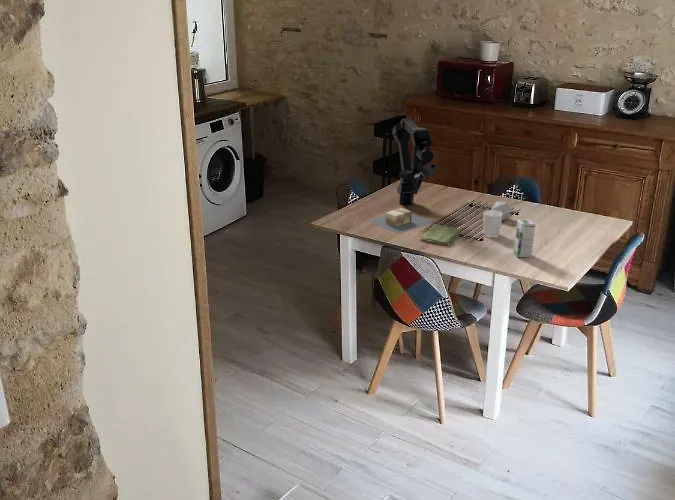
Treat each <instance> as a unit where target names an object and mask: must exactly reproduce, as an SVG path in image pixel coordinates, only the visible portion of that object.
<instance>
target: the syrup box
mask: <svg viewBox="0 0 675 500" xmlns="http://www.w3.org/2000/svg"><path fill="white" fill-rule="evenodd" d="M535 231H536V223H534V221H532V219H526V218H522V219H517V223H516V231H515V237H514V243H513V244H514V245H513V254H514V253H515V254H514V255H515V257H516V258H517V257H530V258H532V252H533V247H534V246H533V244H534V237H535Z"/></svg>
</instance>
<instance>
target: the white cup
mask: <svg viewBox="0 0 675 500" xmlns="http://www.w3.org/2000/svg"><path fill="white" fill-rule="evenodd" d="M502 215H503V213H502V212H500V211H496V210H491V209H488V210H485V211H483V223H482V224H483V225H482V227H483V232H482V233H483V234H485V235H486V236H491V237H494V236H498V235H499V236H500V232H501V231H500V230H501V227H502V221H503V220H502ZM483 234H482V235H483ZM486 236H485V237H486ZM499 236H498V237H499ZM491 237H490V238H491Z"/></svg>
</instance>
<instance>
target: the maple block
mask: <svg viewBox="0 0 675 500" xmlns="http://www.w3.org/2000/svg"><path fill="white" fill-rule="evenodd" d="M411 214H412V210H409V209H406V208H404V207H399V208H397V209H393V210H389V211H387V212H385V216H386V223H387V224H389V225H392V226H394V227H396V226H399V225H402V224H406V223H409V222H411Z"/></svg>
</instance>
